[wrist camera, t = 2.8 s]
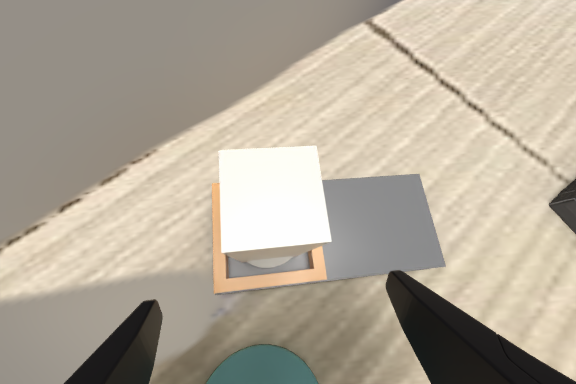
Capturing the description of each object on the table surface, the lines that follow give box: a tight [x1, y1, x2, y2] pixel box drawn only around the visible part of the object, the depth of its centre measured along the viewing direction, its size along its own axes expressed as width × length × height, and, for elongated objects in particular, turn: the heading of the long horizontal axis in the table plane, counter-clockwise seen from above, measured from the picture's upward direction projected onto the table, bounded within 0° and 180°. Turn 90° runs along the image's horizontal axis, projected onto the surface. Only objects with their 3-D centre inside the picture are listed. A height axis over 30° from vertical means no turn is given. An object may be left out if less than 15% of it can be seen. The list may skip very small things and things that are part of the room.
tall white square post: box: [219, 146, 332, 268], centre depth 14 cm, size 5×5×10 cm
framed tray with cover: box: [212, 174, 446, 295], centre depth 20 cm, size 18×8×4 cm, turn 96°
